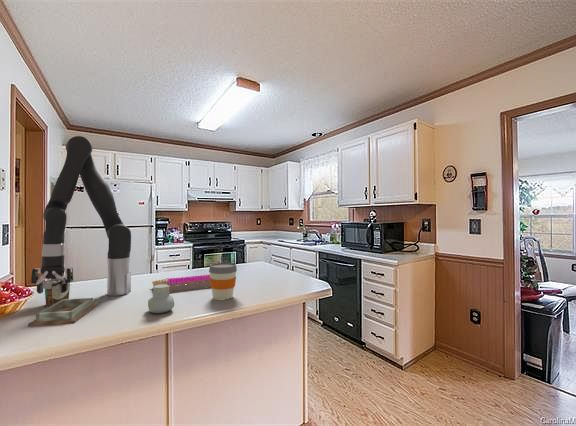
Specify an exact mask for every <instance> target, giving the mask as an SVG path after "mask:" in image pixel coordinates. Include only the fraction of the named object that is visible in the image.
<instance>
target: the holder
mask: <svg viewBox="0 0 576 426" xmlns="http://www.w3.org/2000/svg"><path fill="white" fill-rule="evenodd" d="M99 304H100V302H94V297H86V298H84V297H83V298H82V297H81V298H69V299H63V300H61V301H59V302H57V303H55V304H53V305H52V306H50V307H46V308H44V309H42V310H41V311H39V312H37V313H35V314H36V315H35V319H34V320H32V321H29V322H28V323H27V326H28V327H33V326H34V327H35V326H50V325H62V324H75V323H77V322H78V321H79V320H81V319H82V318H83V317H85V316H86V315H88V313H90V312H91V311H93V310H94V309H95V308H96V307H99V306H100V305H99Z"/></svg>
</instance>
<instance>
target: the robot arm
mask: <svg viewBox="0 0 576 426" xmlns="http://www.w3.org/2000/svg"><path fill="white" fill-rule="evenodd" d="M65 150H66V155H65V156H66V157H65V160H64V161H65V162H64V164H63V167H62V169H61V171H60V173H59V175H58V177H57V179H56V181H55V184H54V186H53V189H52V192H51V195H50V198H49V201H48V203H47V204H46V206H45V207H44V211H43V214H42V217H43V219H44V221H45V225H44V228H45V229H44V232H43V234H42V235H43V236H42V237H43V238H42V248H41V268H39V267H36V268H33V269H32V270H31V276H30V277H31V280H30V282H31V284H35V285H36V293H37V294H40V295H41V294H42V293H44V288H42V287H43V284H44V282H45V281H47V280H52V279H58V280H60V281H61V282H62V293H64V292H66V291H67V289H68V283H69V282H70V283H71V282H73V281H74V268H73V267H69V268H68V267H67V268H66V267H65V260H66V259H65V256H66V246H65V230H66V225H67V212H66V210H67V207H68V205H69V204H70V202H71V201H72V200H73V196H74V193H75V191H76V187H77V184H78V181H79V178H80V179H81V182H82V184H83V186H84V190H85V192H86V194H87V195H88V197H89V200H90V202H91V204H92V205H93V207H94V210H95V211H96V212H97V214H98V215H99V217H100V219H101V222H102V225H103V226H104V230H105V233H106V236H107V239H108V250H107V258H106V259H107V263H106V264H107V267H106V268H107V270H106V271H107V274H106V279H107V280H106V282H107V283H106V285H107V286H106V288H107V289H106V295H107V296H111V297H115V296H116V297H117V296H122V295H128V294H129V293H130V292H131V291H132V272H131V271H130V269H131V268H130V265H131V258H130V257H131V255H130V254H131V249H132V232H131V229H130V228H129V226H126V225H125V223H124V222H123V220H122V219H121V217H120V216H119V213H118V210H117V206H116V202H115V197H114V195H113V192H112V191H111V190H112V189H111V188H110V185H109V184H108V182H107V180H106V179H105V177H104V176H103V174H102V173H101V172H100V171H99V169H98V168H97V166H96V163H95V161H94V159H93V156H92V152H93V144H92V142H91V141H90V140H89V139H88V138H86V137H85V136H83V135H82V136H81V135H75V136H73V137H72V136H71V138H69V139H68V141H67V142H66V144H65ZM64 272H65V274H66V275H65V274H64ZM40 273H41V276H39V274H40ZM66 278H67V279H66Z"/></svg>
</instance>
